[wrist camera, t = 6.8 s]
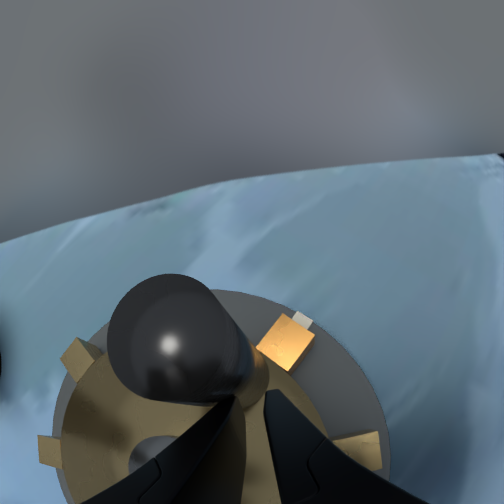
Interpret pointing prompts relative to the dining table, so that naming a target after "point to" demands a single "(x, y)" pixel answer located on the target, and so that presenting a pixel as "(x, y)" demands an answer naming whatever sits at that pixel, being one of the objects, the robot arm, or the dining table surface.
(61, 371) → the dining table surface
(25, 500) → the dining table surface
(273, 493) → the sprocket
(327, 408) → the sprocket base
